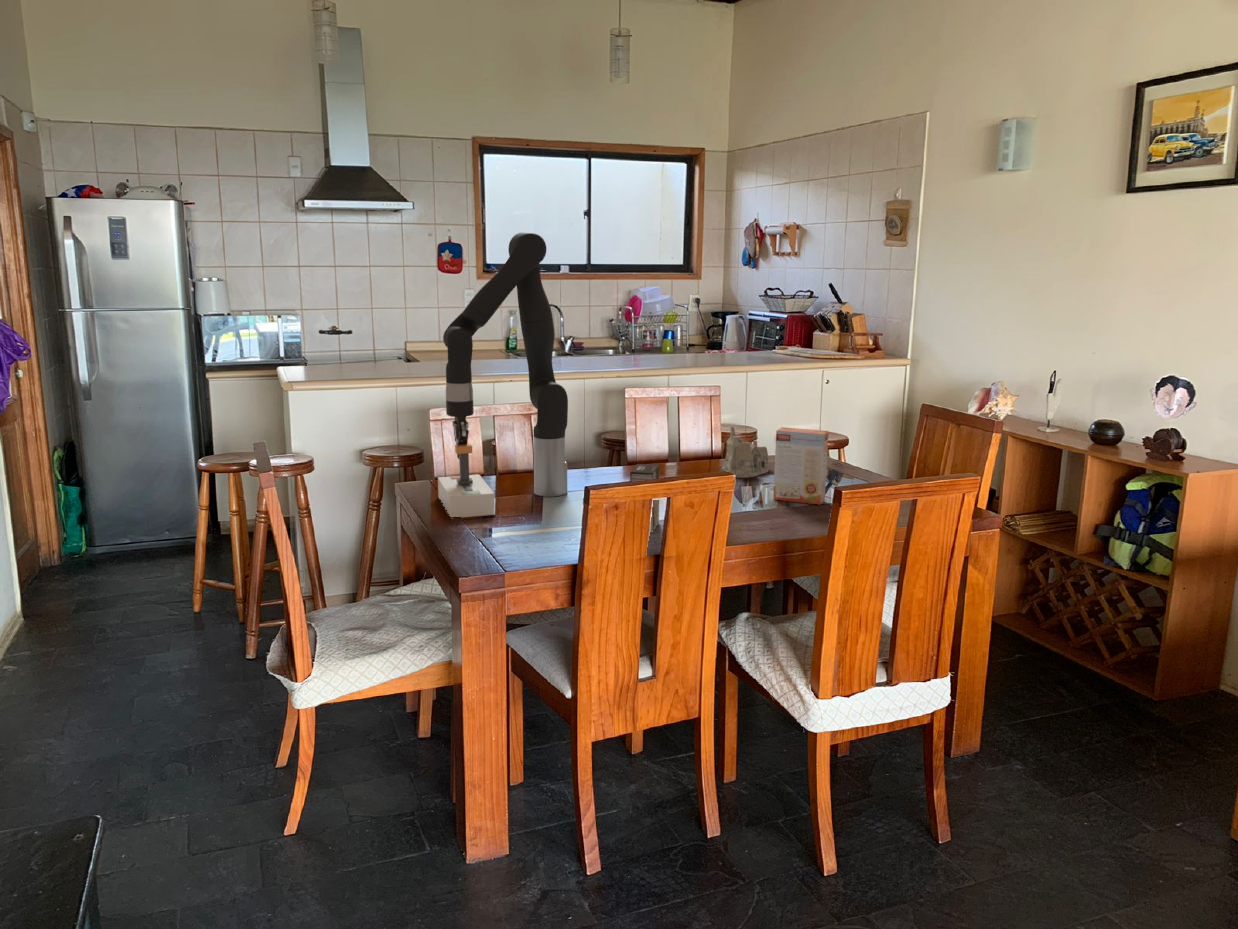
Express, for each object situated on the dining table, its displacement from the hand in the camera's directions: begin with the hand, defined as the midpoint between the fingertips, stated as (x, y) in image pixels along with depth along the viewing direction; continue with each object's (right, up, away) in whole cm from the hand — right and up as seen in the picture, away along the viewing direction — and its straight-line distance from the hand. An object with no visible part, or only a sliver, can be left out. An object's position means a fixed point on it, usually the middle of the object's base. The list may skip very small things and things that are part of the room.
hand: (461, 458), depth 262 cm
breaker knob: (+1, -7, -3) cm, 8 cm away
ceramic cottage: (+86, -4, +40) cm, 95 cm away
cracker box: (+97, -12, +7) cm, 98 cm away
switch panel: (+1, -13, -2) cm, 13 cm away
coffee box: (+51, -18, -20) cm, 58 cm away
